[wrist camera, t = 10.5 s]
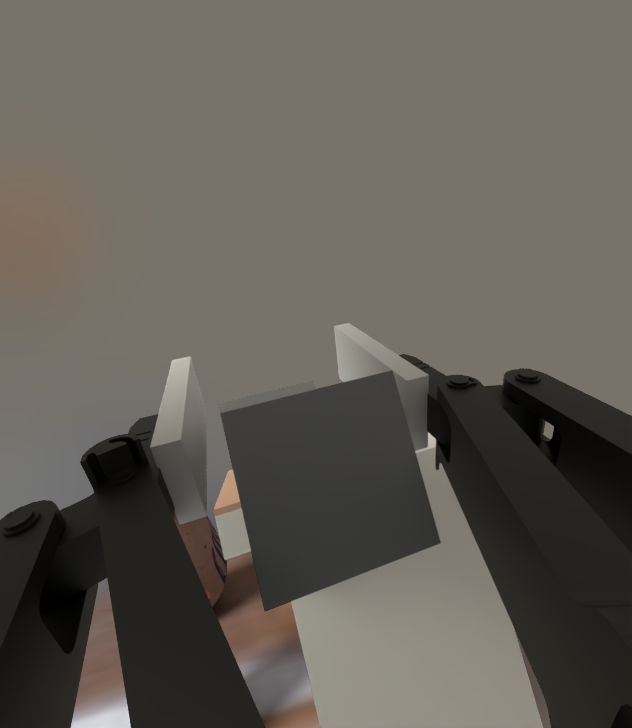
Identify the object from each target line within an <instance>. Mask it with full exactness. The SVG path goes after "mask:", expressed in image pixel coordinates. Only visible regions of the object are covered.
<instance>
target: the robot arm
mask: <svg viewBox="0 0 632 728" xmlns="http://www.w3.org/2000/svg"><path fill="white" fill-rule="evenodd" d="M334 330H335V341H336V350H337V360H338V370H339V378H340V379H341V380H342V381H343V382H347V381H351V380H355V379H359V378H363V377H367V376H371V375H375V374H379V373H383V372H387V371H391V370H393V374H394V377H395V381H396V384H397V388H398V392H399V395H400V399H401V402H402V406H403V409H404V413H405V417H406V420H407V424H408V427H409V431H410V434H411V438H412V442H413V445H414V449H415V451H417V450H420V449H424V448H427V447H428V432H429V433H430V434H431V435H432V436H433V437H434V438H435V439H436V455H435V468H436V470H439V464H440V463H441V464H442V466H443V468H444V470H445V473H446V475H447V477H448V479H449V482H450V484H451V486H452V488H453V491H454V493H455V495H456V497H457V500H458V502H459V504H460V507H461V509H462V511H463V513H464V516H465V518H466V520H467V522H468V525H469V527H470V529H471V531H472V534H473V536H474V538H475V540H476V543H477V545H478V547H479V550H480V552H481V554H482V556H483V559H484V561H485V563H486V565H487V568H488V570H489V572H490V574H491V577H492V579H493V581H494V583H495V586H496V588H497V590H498V593H499V595H500V597H501V599H502V602H503V604H504V606H505V608H506V611H507V613H508V615H509V617H510V620H511V622H512V624H513V626H514V629H515V631H516V633H517V636H518V638H519V640H520V642H521V644H522V647H523V649H524V651H525V653H526V656H527V658H528V660H529V663H530V665H531V667H532V669H533V672H534V674H535V676H536V678H537V681H538V683H539V685H540V688H541V690H542V693H543V695H544V698H545V701H546V704H547V707H548V712H549V718H550V723H551V728H632V416H630V415H628V414H626V413H624V412H622V411H620V410H618V409H616V408H614V407H612V406H610V405H608V404H606V403H604V402H601V401H600V400H598V399H596V398H594V397H592V396H590V395H588V394H585V393H583V392H581V391H579V390H577V389H575V388H573V387H571V386H569V385H567V384H565V383H563V382H561V381H559V380H557V379H555V378H553V377H551V376H549V375H546V374H544V373H542V372H539V371H534V370H531V369H518V370H511V371H508V372H506V373H505V374H504V379H503V385H496V386H485V387H484V386H483V385H482V384H481V383H480V382H479V381H478V380H476V379H475V378H472V377H469V376H463V375H450V376H445V375H444V374H442V373H440V372H439V371H437V370H435V369H434V368H432V367H429V365H427V364H426V363H423V362H422V361H421V360H419V359H417V358H416V357H413V356H409V355H405V354H403V355H397V354H396V353H394V352H392V351H391V350H389V349H388V348H386V347H385V346H383V345H382V344H380V343H379V342H377V341H376V340H374V339H372V338H371V337H369V336H368V335H366V334H365V333H363V332H362V331H360V330H359V329H357V328H355V327H354V326H352V325H351V324H349V323H348V324H343V325H338V326H334ZM545 421H547V422H549V423H550V424H551V425H553V426H554V432H553V437H552V439H549V438H547V437H546V436H544V435H543V432H544V426H545ZM80 463H81V465H82V467H83V469H84V471H85V473H86V475H87V477H88V479H89V481H90V483H91V485H92V487H93V489H94V494H92V495H91V496H89V497H87V498H85V499H83V500H81V501H79V502H77V503H75V504H73V505H71V506H69V507H66V508H64V509H62V510H60V511H59V509H58V507H57V506H56V504H55V503H53V502H52V501H46V500H43V501H38V502H33V503H30V504H28V505H25V506H23V507H20V508H18V509H16V510H14V511H13V512H10V513H9V514H7V515H6V516H5V517H4V518H2V519H1V520H0V728H71V723H72V717H73V712H74V707H75V702H76V697H77V692H78V687H79V682H80V676H81V671H82V666H83V661H84V656H85V651H86V646H87V641H88V635H89V630H90V625H91V620H92V615H93V610H94V605H95V600H96V594H97V589H98V583H99V582H101V581H102V580H104V579H106V578H108V584H109V591H110V597H111V603H112V610H113V616H114V622H115V629H116V635H117V641H118V647H119V654H120V660H121V666H122V673H123V679H124V685H125V692H126V698H127V704H128V711H129V717H130V723H131V728H265V726H264V724H263V721H262V719H261V717H260V715H259V712H258V710H257V708H256V705H255V703H254V701H253V699H252V696H251V694H250V692H249V690H248V687H247V685H246V683H245V680H244V678H243V676H242V674H241V671H240V669H239V667H238V664H237V662H236V660H235V658H234V655H233V653H232V651H231V648H230V646H229V644H228V642H227V639H226V637H225V635H224V632H223V630H222V628H221V626H220V623H219V621H218V619H217V617H216V614H215V612H214V610H213V607H212V605H211V603H210V601H209V598H208V596H207V594H206V591H205V589H204V587H203V585H202V582H201V580H200V578H199V575H198V573H197V571H196V569H195V566H194V564H193V562H192V560H191V557H190V555H189V553H188V550H187V548H186V546H185V544H184V541H183V539H182V537H181V534H180V532H179V530H178V528H177V525H176V523H175V521H174V512H175V514H176V517H177V519H178V522H179V524H180V525H181V524H184V523H187V522H190V521H194V520H197V519H200V518H203V517H206V516H207V500H206V499H207V496H206V493H207V492H206V491H207V490H206V489H207V487H206V485H207V482H206V408H205V405H204V401H203V397H202V394H201V391H200V387H199V384H198V380H197V377H196V374H195V370H194V366H193V363H192V360H191V357H190V356H189V357H185V358H180V359H175V360H172V364H171V367H170V371H169V375H168V379H167V383H166V387H165V391H164V395H163V399H162V402H161V406H160V410H159V414H157V415H153V416H149V417H145V418H140V419H139V420H138V421H137V422H136V423H135V424H134V425H133V426H132V427H131V428H130V430H129V433H128V434H124V435H118V436H115V437H111V438H108V439H106V440H104V441H102V442H100V443H98V444H96V445H95V446H93V447H92V448H90V449H89V450H88V451H87V452H86V453H85V454H84V455H83V456H82V459H81V462H80Z"/></svg>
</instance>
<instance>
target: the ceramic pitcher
mask: <svg viewBox="0 0 632 728" xmlns="http://www.w3.org/2000/svg"><path fill="white" fill-rule="evenodd" d="M174 521H175V523H176V525H177V528H178V530H179V532H180V534H181V537H182V539H183V541H184V544H185V546H186V548H187V550H188V553H189V555H190V557H191V560H192V562H193V564H194V566H195V569H196V571H197V573H198V575H199V578H200V580H201V582H202V585H203V587H204V589H205V590H206V591H208V592H209V593H210V596H211V605H212V607H213V606H214V604H215V603H216V601H217V600H218V598H219V597H220V595H221V593H222V591H223V588H224V585H225V581H226V576H227V561H226V560H224V556H223V551H222V547H221V542H220V538H219V536H218V534H217V532H216V530H215V528H214V527H213V525H212V523H211V521H210V520H209V518H208V517H207V516H206V517H203V518H200V519H197V520H194V521H190V522H187V523H184V524H181V525H180V524H179V522H178V519H177V517H176V514H175V512H174Z"/></svg>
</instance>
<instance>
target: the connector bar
mask: <svg viewBox="0 0 632 728" xmlns="http://www.w3.org/2000/svg"><path fill="white" fill-rule="evenodd" d="M219 407H220V412H221V413H220V414H221V418H222V423H223V427H224V432H225V436H226V440H227V445H228V450H229V454H230V458H231V462H232V468H233V472H234V477H235V481H236V485H237V490H238V494H239V499H240V503H241V508H242V512H243V517H244V521H245V526H246V530H247V535H248V539H249V544H250V548H251V553H252V557H253V561H254V566H255V570H256V575H257V579H258V584H259V588H260V593H261V597H262V602H263V606H264V611H268V610H270V609H273V608H275V607H278V606H281V605H283V604H286V603H288V602H291V601H293V600H296V599H299V598H301V597H304V596H306V595H309V594H311V593H314V592H317V591H319V590H322V589H324V588H327V587H329V586H332V585H335V584H337V583H340V582H342V581H345V580H347V579H350V578H353V577H355V576H358V575H360V574H363V573H365V572H368V571H371V570H373V569H376V568H378V567H381V566H383V565H386V564H389V563H391V562H394V561H396V560H399V559H401V558H404V557H407V556H409V555H412V554H414V553H417V552H419V551H422V550H425V549H427V548H430V547H432V546H435V545H438V544H440V543H441V542H440V538H439V534H438V531H437V527H436V524H435V520H434V517H433V513H432V509H431V506H430V502H429V499H428V495H427V492H426V488H425V484H424V481H423V477H422V474H421V470H420V467H419V463H418V459H417V456H416V452H415V449H414V445H413V442H412V438H411V434H410V431H409V427H408V424H407V420H406V417H405V413H404V409H403V406H402V402H401V399H400V395H399V392H398V388H397V384H396V381H395V377H394V374H393V370H391V371H387V372H383V373H379V374H375V375H371V376H367V377H363V378H359V379H355V380H351V381H347V382H343V383H339V384H335V385H331V386H328V387H323V388H319V389H315V386H314V382H313V381H310V382H306V383H303V384H298V385H294V386H290V387H286V388H282V389H278V390H273V391H269V392H265V393H261V394H257V395H253V396H249V397H245V398H241V399H237V400H232V401H228V402H225V403H220V404H219Z"/></svg>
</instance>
